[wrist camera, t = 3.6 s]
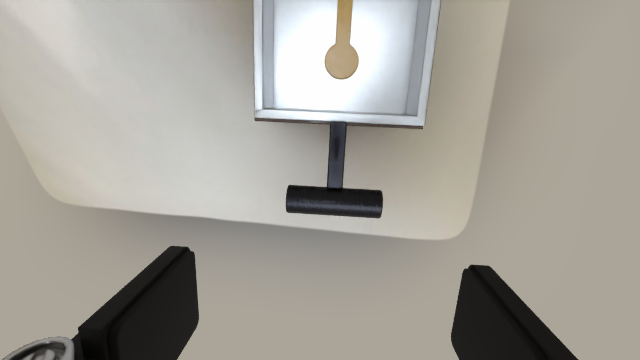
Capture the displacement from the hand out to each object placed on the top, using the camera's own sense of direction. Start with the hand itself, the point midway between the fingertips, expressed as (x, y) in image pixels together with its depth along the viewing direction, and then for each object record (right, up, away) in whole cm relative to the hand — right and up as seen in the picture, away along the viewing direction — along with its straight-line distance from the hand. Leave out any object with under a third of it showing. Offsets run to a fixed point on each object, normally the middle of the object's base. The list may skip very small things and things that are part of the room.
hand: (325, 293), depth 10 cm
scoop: (+1, +12, +12) cm, 17 cm away
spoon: (+1, +14, +11) cm, 18 cm away
